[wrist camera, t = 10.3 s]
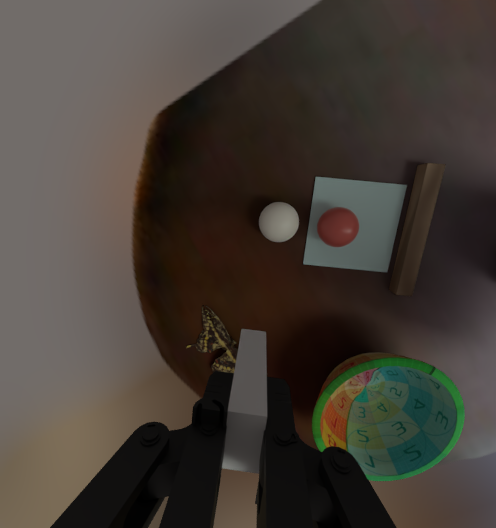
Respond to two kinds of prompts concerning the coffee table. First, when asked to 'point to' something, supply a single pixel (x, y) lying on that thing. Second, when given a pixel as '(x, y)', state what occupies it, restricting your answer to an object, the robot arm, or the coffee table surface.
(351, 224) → the red ball
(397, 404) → the bowl
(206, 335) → the butterfly
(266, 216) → the white ball
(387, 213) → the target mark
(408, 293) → the strip
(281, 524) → the robot arm
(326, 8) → the coffee table surface
